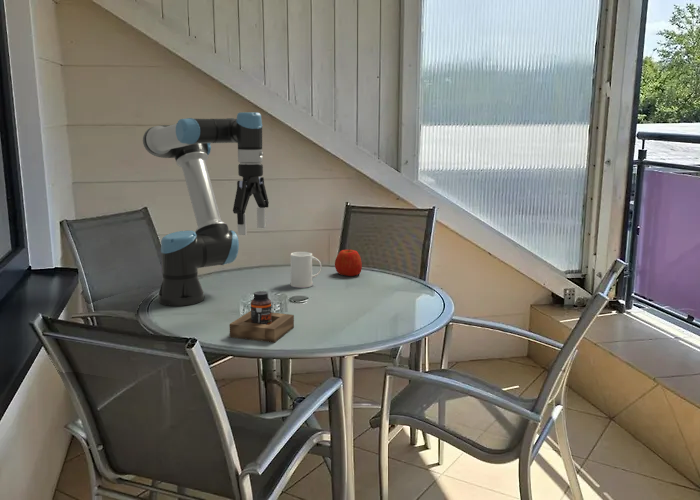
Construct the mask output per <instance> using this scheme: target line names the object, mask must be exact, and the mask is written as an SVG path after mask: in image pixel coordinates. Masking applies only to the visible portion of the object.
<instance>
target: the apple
mask: <svg viewBox="0 0 700 500" xmlns="http://www.w3.org/2000/svg"><path fill="white" fill-rule="evenodd" d="M362 265H363V263H362V258H361V255H360V254H359V252H358V251H357V250H354V249H349V248H348V249H341V250H340V251H339V252H338V253H337V256H336V258H335V260H334V267H335V270H336V272H337V274H339V275H341V276H346V277H354V276H359V275H360V274H361V272H362V268H363V267H362ZM358 274H359V275H358Z"/></svg>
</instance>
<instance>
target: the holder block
mask: <svg viewBox="0 0 700 500" xmlns="http://www.w3.org/2000/svg"><path fill="white" fill-rule="evenodd" d="M271 318H272V323H271V324H270V325H266V324H257V323H251V310H249V311H248V312H246V313H245V314H244V315H242V316H240V317H238V318H237V319H235V320H234V321H232V322H231V323H230V322H229V338H234V339H240V340H250V341H257V342H267V343H273V344H276V343H277V342H278V341H280V340H281V338H283V337H284V336H285V335H286V334H288V333H289V332H290V331H291V330H293V329H294V328H295V315H294V314H289V313H279V312H278V313H277V312H271Z"/></svg>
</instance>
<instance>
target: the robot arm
mask: <svg viewBox="0 0 700 500" xmlns="http://www.w3.org/2000/svg"><path fill="white" fill-rule="evenodd" d="M212 144H237V162H238V166H237V168H238V169H237V171H238V176H239V177H242V180H237V181H236V191H235V196H234V197H235V198H234V202H233V208H232V212H233V214H236V220H237V221H236V222H237V224H236V227H237V233H236V232H235V230H230V229H229V226H228V224H227V223H226V222H224V221H223V220H222V218H221V214H220V210H219V209H220V208H219V206H218V202H217V200H216V196H215V192H214V187H213V185H212V181H211V178H210V177H211V176H210V174H209V170H208V167H207V160H208V158H209V155H210V154H211V151H212ZM142 145H143V147H144V149H145V150H146V151H147V152H148V153H149V154H151V155H153V157H156V158H162V159H175V163H176V165H177V166H178V167H179V168H181V169H182V173H183V176H184V181H185V184H186V187H187V191H188V194H189V195H188V196H189V199H190V203H191V207H192V210H193V213H194V217H195V220H196V221H195V222H196V224H197V228H196V230H195V231H194V230H179V231H175V232H171V233H169V234H166V235H164V236H163V237H162V238H161V240H160V241H161V242H160V253H161V254H160V255H161V271H162V272H161V273H162V280H161V285H160V288H159V291H158V303H160V304H161V305H164V306H171V307H172V306H174V307H181V306H182V307H183V306H191V305H195V304H198V303H201V302H202V301H204V299H205V294H204V290H203V288H202V285H201V282H200V280H199V275H198V272H199V271H198V269H201V268H202V269H203V268H207V267H208V268H209V267H215V266H216V267H217V266H224V265H227V264H228V265H229V264H233V262H234V261H235V260H236V259H237V256H238V254H239V248H240V247H239V246H240V242H239V237H238V236H247V235H248V234H247V233H248V228H247V225H248V224H247V213H246V210H247V207H248V204H249V200H250V197H251V196H253V198H254V200H255V202H256V205H257V207H256V227H257V229H258V228H259V229H266V228H267V225H266V224H267V223H266V222H267V221H266V219H267V218H266V208H267V209H268V208H269V202H270V201H269V198H268V194H267V191H266V186H265V179H264V177H263V175H264V165H263V164H262V163H263V159H264V158H263V156H264V152H263V121H262V114H261V113H260V112H257V111H256V112H254V111H253V112H249V111H247V112H243V111H242V112H238V113H237V114H236V118H232V117H231V118H228V117H227V118H192V117H189V118H188V117H187V118H181V119H178V120H177V123H174V124H170V125H167V124H164V125H163V124H162V125H155V126H151V127H149V128H148V129H147V130H146V131H144V134H143V136H142Z"/></svg>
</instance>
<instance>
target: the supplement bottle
mask: <svg viewBox="0 0 700 500" xmlns="http://www.w3.org/2000/svg"><path fill="white" fill-rule="evenodd" d="M253 297H254V298H253V299H252V300H251V301H250V311H251V323H257V324H266V325H270V324H271V323H272V318H271V313H272V301H271V299H269V292H267V291H264V290H263V291H262V290H258V291H255V292H254V293H253Z"/></svg>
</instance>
